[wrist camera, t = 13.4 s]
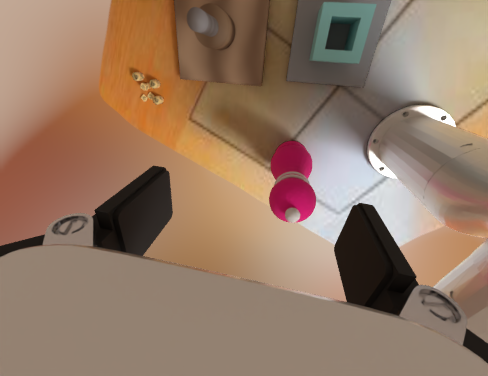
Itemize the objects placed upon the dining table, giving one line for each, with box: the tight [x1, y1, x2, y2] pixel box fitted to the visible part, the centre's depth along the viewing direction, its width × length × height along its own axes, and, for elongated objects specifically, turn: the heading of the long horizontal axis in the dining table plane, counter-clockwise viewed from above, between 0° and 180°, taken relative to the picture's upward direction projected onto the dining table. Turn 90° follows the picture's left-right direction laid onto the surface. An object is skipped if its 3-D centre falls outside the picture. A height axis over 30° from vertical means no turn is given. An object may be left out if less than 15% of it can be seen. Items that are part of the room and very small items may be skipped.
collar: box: [309, 2, 377, 64], centre depth 29 cm, size 6×6×5 cm
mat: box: [286, 0, 391, 87], centre depth 31 cm, size 12×12×1 cm
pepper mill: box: [269, 141, 316, 223], centre depth 33 cm, size 7×7×20 cm
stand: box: [174, 0, 270, 86], centre depth 29 cm, size 14×14×11 cm
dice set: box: [132, 72, 164, 105], centre depth 40 cm, size 5×5×2 cm
